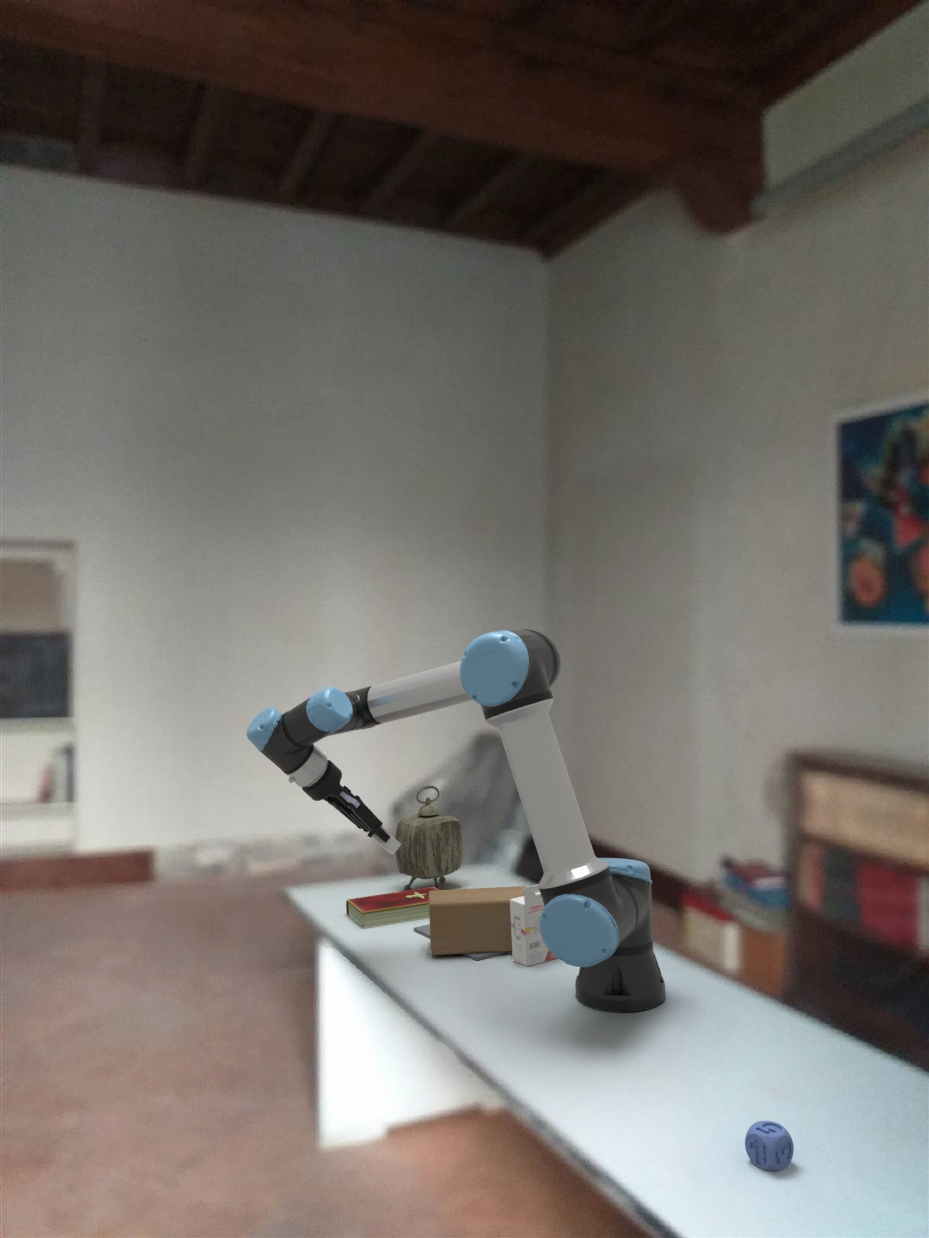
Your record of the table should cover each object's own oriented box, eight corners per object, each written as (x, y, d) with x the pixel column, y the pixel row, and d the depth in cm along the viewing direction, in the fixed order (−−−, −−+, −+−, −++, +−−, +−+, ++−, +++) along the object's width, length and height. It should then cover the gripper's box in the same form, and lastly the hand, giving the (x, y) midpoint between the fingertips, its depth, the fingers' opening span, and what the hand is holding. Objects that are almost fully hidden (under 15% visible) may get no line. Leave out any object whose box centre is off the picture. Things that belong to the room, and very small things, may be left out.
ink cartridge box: (546, 950, 197) (543, 874, 197) (562, 957, 193) (559, 879, 193) (510, 960, 192) (508, 882, 192) (526, 967, 188) (524, 887, 188)
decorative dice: (744, 1160, 120) (743, 1126, 120) (767, 1149, 122) (766, 1116, 122) (771, 1175, 117) (770, 1140, 117) (795, 1164, 119) (793, 1130, 119)
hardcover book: (346, 916, 226) (345, 897, 226) (433, 902, 235) (433, 884, 235) (363, 931, 215) (362, 911, 215) (454, 916, 224) (453, 897, 224)
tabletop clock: (443, 880, 253) (440, 780, 253) (467, 887, 246) (463, 783, 246) (396, 892, 243) (393, 788, 243) (419, 899, 236) (416, 792, 236)
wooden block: (430, 939, 205) (529, 934, 206) (430, 955, 195) (534, 950, 196) (428, 889, 205) (527, 885, 206) (429, 903, 195) (533, 898, 196)
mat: (555, 940, 203) (555, 937, 203) (476, 960, 193) (476, 957, 193) (488, 913, 223) (488, 910, 223) (413, 930, 213) (413, 927, 213)
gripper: (288, 784, 196) (369, 858, 205) (316, 793, 185) (399, 870, 194) (313, 754, 199) (391, 828, 208) (341, 761, 188) (423, 839, 197)
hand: (395, 848), depth 201 cm, fingers closed
